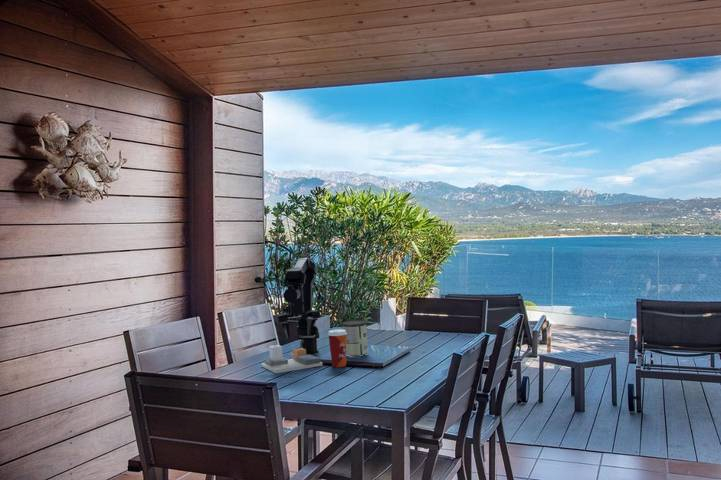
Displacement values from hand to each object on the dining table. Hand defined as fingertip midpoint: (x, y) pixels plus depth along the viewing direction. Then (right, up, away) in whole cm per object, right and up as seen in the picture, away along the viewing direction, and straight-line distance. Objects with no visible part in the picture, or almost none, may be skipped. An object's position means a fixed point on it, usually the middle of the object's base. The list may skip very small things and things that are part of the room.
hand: (298, 337), depth 280 cm
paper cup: (+17, -10, -12) cm, 23 cm away
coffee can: (+24, -9, +8) cm, 27 cm away
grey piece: (+5, -9, -7) cm, 12 cm away
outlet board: (-2, -11, -7) cm, 13 cm away
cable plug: (-1, -9, +4) cm, 10 cm away
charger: (-8, -10, -6) cm, 14 cm away
